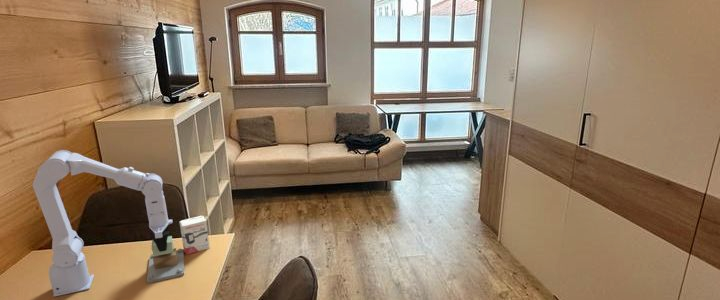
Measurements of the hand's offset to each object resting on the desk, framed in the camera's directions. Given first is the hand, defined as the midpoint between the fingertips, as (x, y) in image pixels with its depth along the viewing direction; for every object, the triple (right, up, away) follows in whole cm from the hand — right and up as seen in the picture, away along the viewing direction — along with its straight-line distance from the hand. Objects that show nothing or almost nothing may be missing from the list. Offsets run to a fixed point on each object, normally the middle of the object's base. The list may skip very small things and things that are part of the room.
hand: (163, 247), depth 134 cm
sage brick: (0, -1, 0) cm, 2 cm away
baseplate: (0, -7, +2) cm, 8 cm away
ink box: (+6, -4, +13) cm, 15 cm away
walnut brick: (0, -6, +2) cm, 7 cm away
